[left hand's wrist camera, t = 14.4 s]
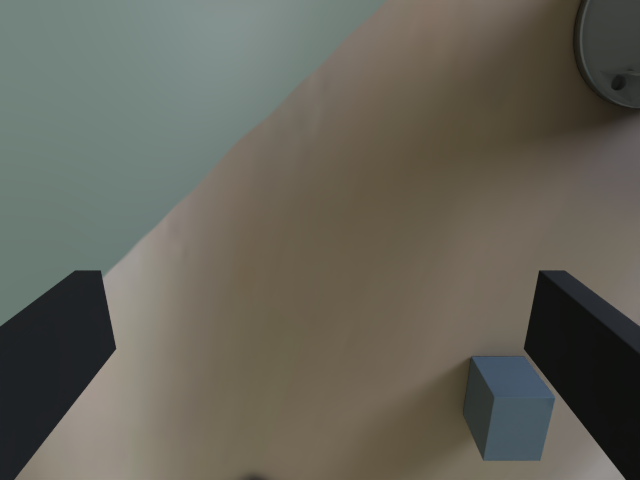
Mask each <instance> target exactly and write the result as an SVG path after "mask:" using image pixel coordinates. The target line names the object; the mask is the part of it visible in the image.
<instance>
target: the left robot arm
mask: <svg viewBox="0 0 640 480" xmlns="http://www.w3.org/2000/svg"><path fill="white" fill-rule="evenodd" d="M574 50H575V57H576V61H577V65H578V68H579V70H580V73H581V75H582V77H583V79H584V80H585V82H586V83H587V85H588V86H589V87H590V88H591V89H592V90H593V91H594V92H595V93H596V94H597V95H598V96H599V97H601V98H603V99H604V100H606V101H608V102H610V103H612V104H615V105H618V106H623V107H630V108H640V0H582V3H581V5H580V8H579V11H578V15H577V19H576V24H575V32H574ZM115 350H116V345H115V340H114V335H113V330H112V325H111V320H110V315H109V310H108V305H107V300H106V295H105V290H104V285H103V280H102V274H101V271H74V272H73V273H71V274H70V275H69V276H67V277H66V278H65V279H63V280H62V281H60V282H59V283H58V284H57V285H55V286H54V287H53V288H51V289H50V290H49V291H47V292H46V293H44V294H43V295H42V296H40V297H39V298H38V299H36V300H35V301H34V302H32V303H31V304H30V305H28V306H27V307H26V308H24V309H23V310H22V311H20V312H19V313H18V314H16V315H15V316H14V317H12V318H11V319H10V320H8V321H7V322H6V323H4V324H3V325H2V326H0V480H14V479H15V478H16V477H17V475H18V474H19V473H20V471H21V470H22V469H23V468H24V466H25V465H26V464H27V463H28V461H29V460H30V459H31V457H32V456H33V455H34V454H35V452H36V451H37V450H38V448H39V447H40V446H41V445H42V443H43V442H44V441H45V439H46V438H47V437H48V436H49V434H50V433H51V432H52V430H53V429H54V428H55V427H56V425H57V424H58V423H59V421H60V420H61V419H62V418H63V416H64V415H65V414H66V413H67V411H68V410H69V409H70V407H71V406H72V405H73V404H74V402H75V401H76V400H77V398H78V397H79V396H80V395H81V393H82V392H83V391H84V389H85V388H86V387H87V386H88V384H89V383H90V382H91V380H92V379H93V378H94V377H95V375H96V374H97V373H98V371H99V370H100V369H101V368H102V366H103V365H104V364H105V363H106V361H107V360H108V359H109V357H110V356H111V355H112V354H113V352H114V351H115ZM524 350H525V351H526V352H527V354H528V355H529V356H530V357H531V359H532V360H533V361H534V363H535V364H536V365H537V366H538V368H539V369H540V370H541V371H542V373H543V374H544V375H545V377H546V378H547V379H548V380H549V382H550V383H551V384H552V386H553V387H554V388H555V389H556V391H557V392H558V393H559V395H560V396H561V397H562V398H563V400H564V401H565V402H566V404H567V405H568V406H569V407H570V409H571V410H572V411H573V413H574V414H575V415H576V416H577V418H578V419H579V420H580V421H581V423H582V424H583V425H584V427H585V428H586V429H587V430H588V432H589V433H590V434H591V436H592V437H593V438H594V439H595V441H596V442H597V443H598V445H599V446H600V447H601V448H602V450H603V451H604V452H605V454H606V455H607V456H608V457H609V459H610V460H611V461H612V463H613V464H614V465H615V466H616V468H617V469H618V470H619V471H620V473H621V474H622V475H623V477H624V478H625V479H626V480H640V326H638V325H637V324H636V323H634V322H633V321H632V320H630V319H629V318H628V317H626V316H625V315H624V314H622V313H621V312H620V311H618V310H617V309H616V308H614V307H613V306H612V305H610V304H609V303H608V302H606V301H605V300H604V299H602V298H601V297H600V296H598V295H597V294H596V293H594V292H593V291H592V290H590V289H589V288H588V287H586V286H585V285H584V284H582V283H581V282H580V281H578V280H577V279H575V278H574V277H573V276H571V275H570V274H569V273H567V272H566V271H539V274H538V279H537V285H536V290H535V295H534V300H533V305H532V310H531V315H530V320H529V325H528V330H527V335H526V340H525V345H524Z"/></svg>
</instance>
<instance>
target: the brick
mask: <svg viewBox="0 0 640 480" xmlns="http://www.w3.org/2000/svg"><path fill="white" fill-rule="evenodd" d="M554 401H555V396H554V395H553V394H552V392H551V391H550V390H549V388H548V387H547V386H546V385H545V383H544V382H543V381H542V379H541V378H540V377H539V375H538V374H537V373H536V371H535V370H534V369H533V367H532V366H531V365H530V363H529V362H528V361H527V360H526V358H525V357H471V363H470V370H469V377H468V383H467V390H466V397H465V403H464V410H463V415H464V418H465V420H466V422H467V425H468V427H469V429H470V431H471V434H472V436H473V438H474V441H475V443H476V445H477V447H478V450H479V452H480V454H481V456H482V459H483V460H484V461H540V460H541V455H542V451H543V447H544V443H545V439H546V435H547V430H548V426H549V422H550V418H551V414H552V410H553V405H554Z"/></svg>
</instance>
